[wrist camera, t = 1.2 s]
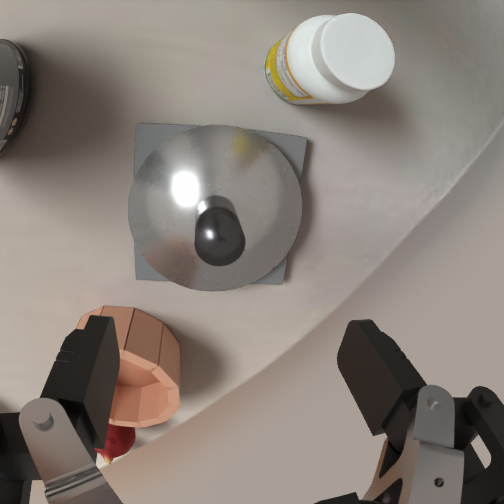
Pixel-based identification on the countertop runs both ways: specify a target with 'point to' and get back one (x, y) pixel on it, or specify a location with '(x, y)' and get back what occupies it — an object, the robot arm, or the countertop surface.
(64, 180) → the countertop surface
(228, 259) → the lid
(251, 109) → the countertop surface
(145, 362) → the bowl
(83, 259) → the countertop surface
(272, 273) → the mat
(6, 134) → the supplement container
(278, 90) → the supplement bottle
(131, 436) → the onion
